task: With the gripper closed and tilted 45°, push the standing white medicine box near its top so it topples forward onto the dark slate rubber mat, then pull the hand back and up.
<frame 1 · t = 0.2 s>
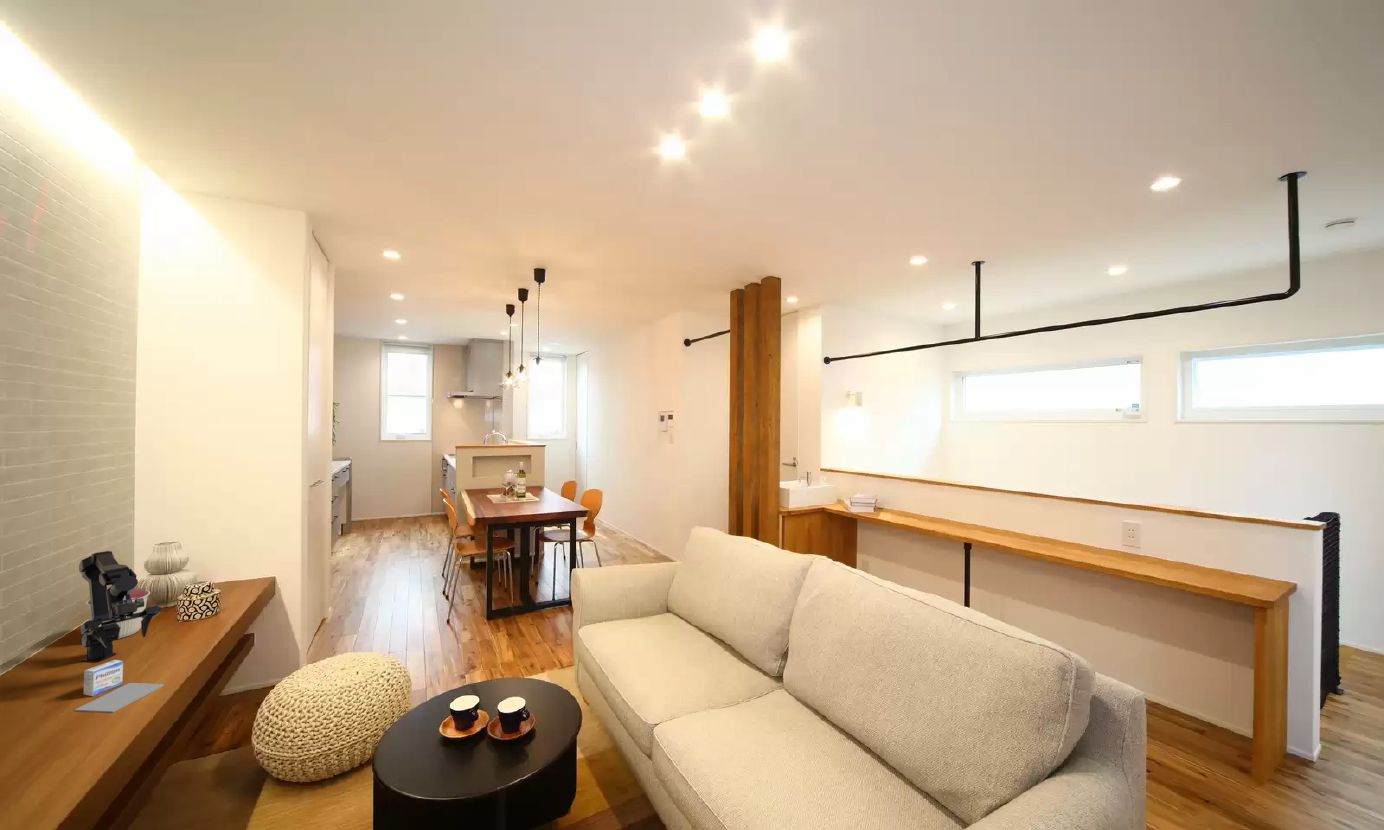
hand: (125, 641, 180), 14 cm above the table, tool tilted 35°, fingers open, 9 cm apart
medicine box: (103, 690, 175), on the table
canister: (117, 635, 213), on the table
slate mat: (121, 697, 171), on the table
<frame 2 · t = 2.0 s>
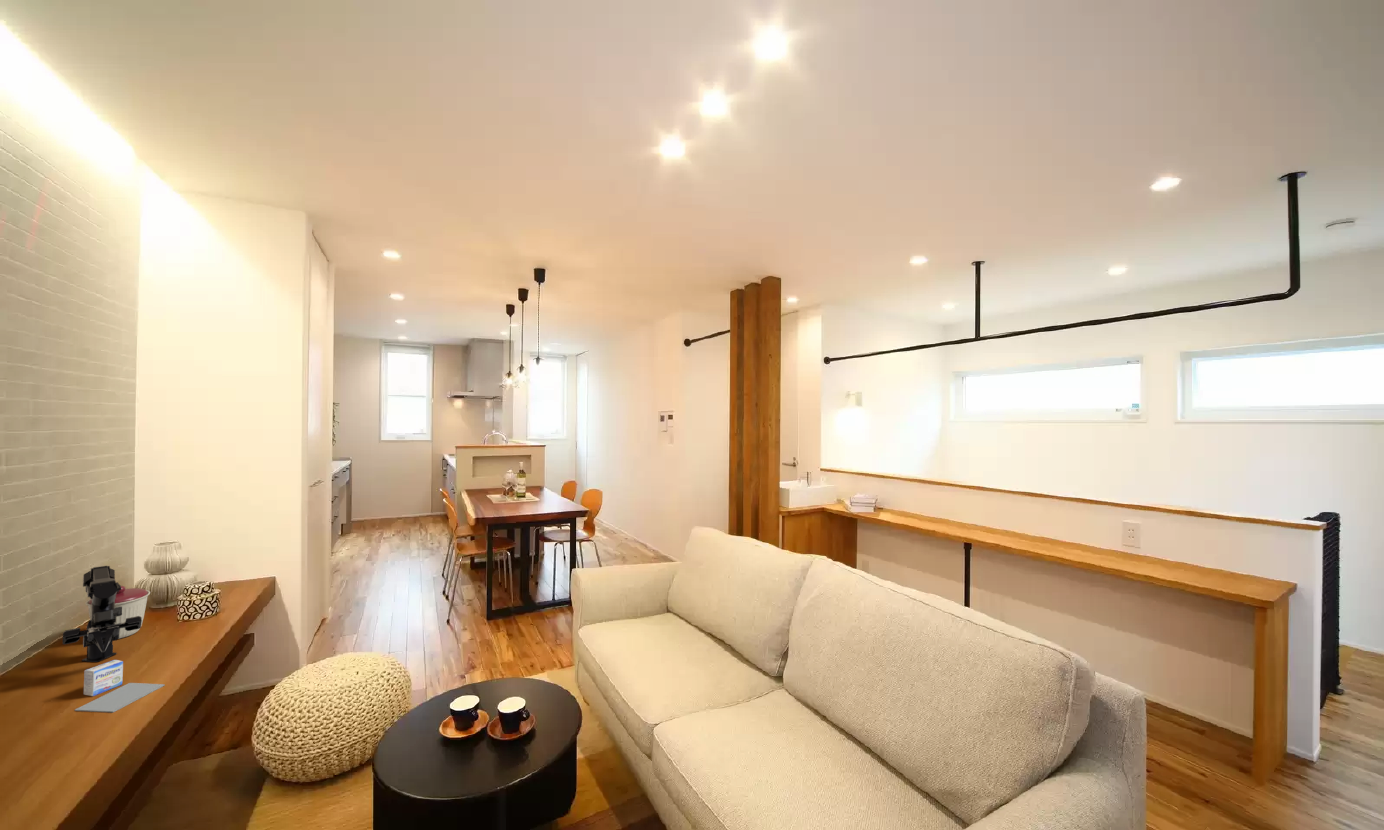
hand: (103, 651, 180), 11 cm above the table, tool tilted 45°, fingers closed
nothing on the table moved.
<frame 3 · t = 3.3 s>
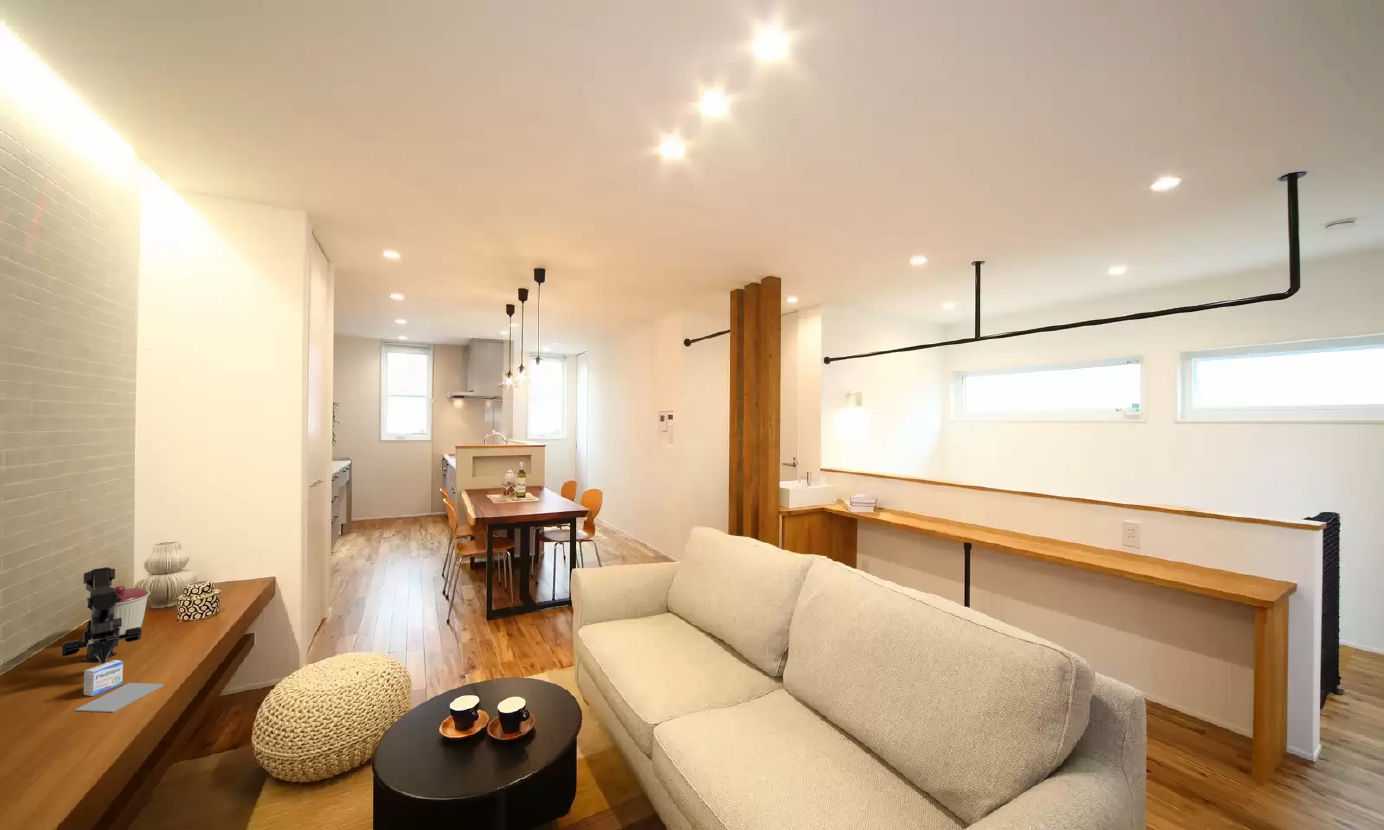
hand: (103, 662, 179), 7 cm above the table, tool tilted 45°, fingers closed
nothing on the table moved.
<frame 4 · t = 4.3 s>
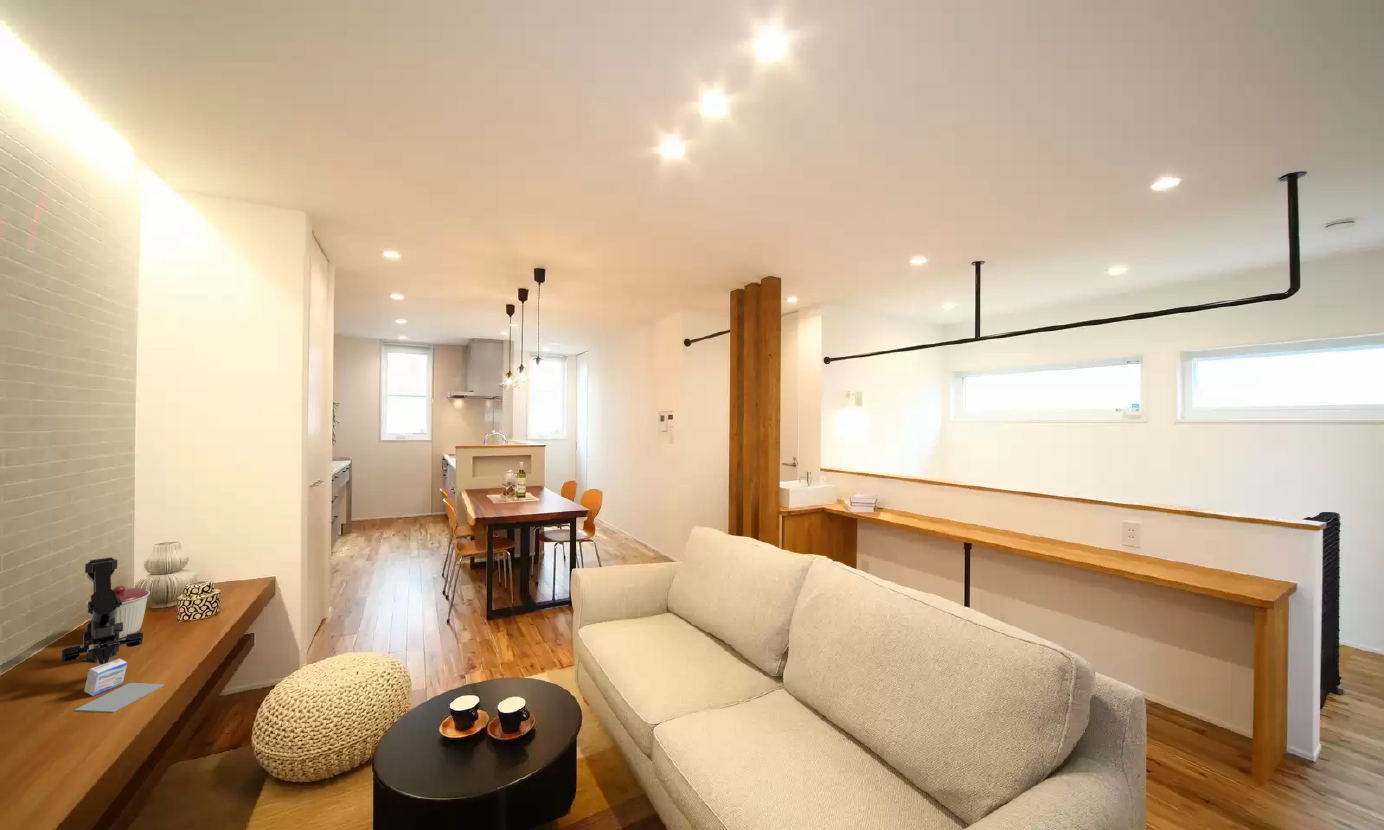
hand: (103, 668, 175), 7 cm above the table, tool tilted 45°, fingers closed
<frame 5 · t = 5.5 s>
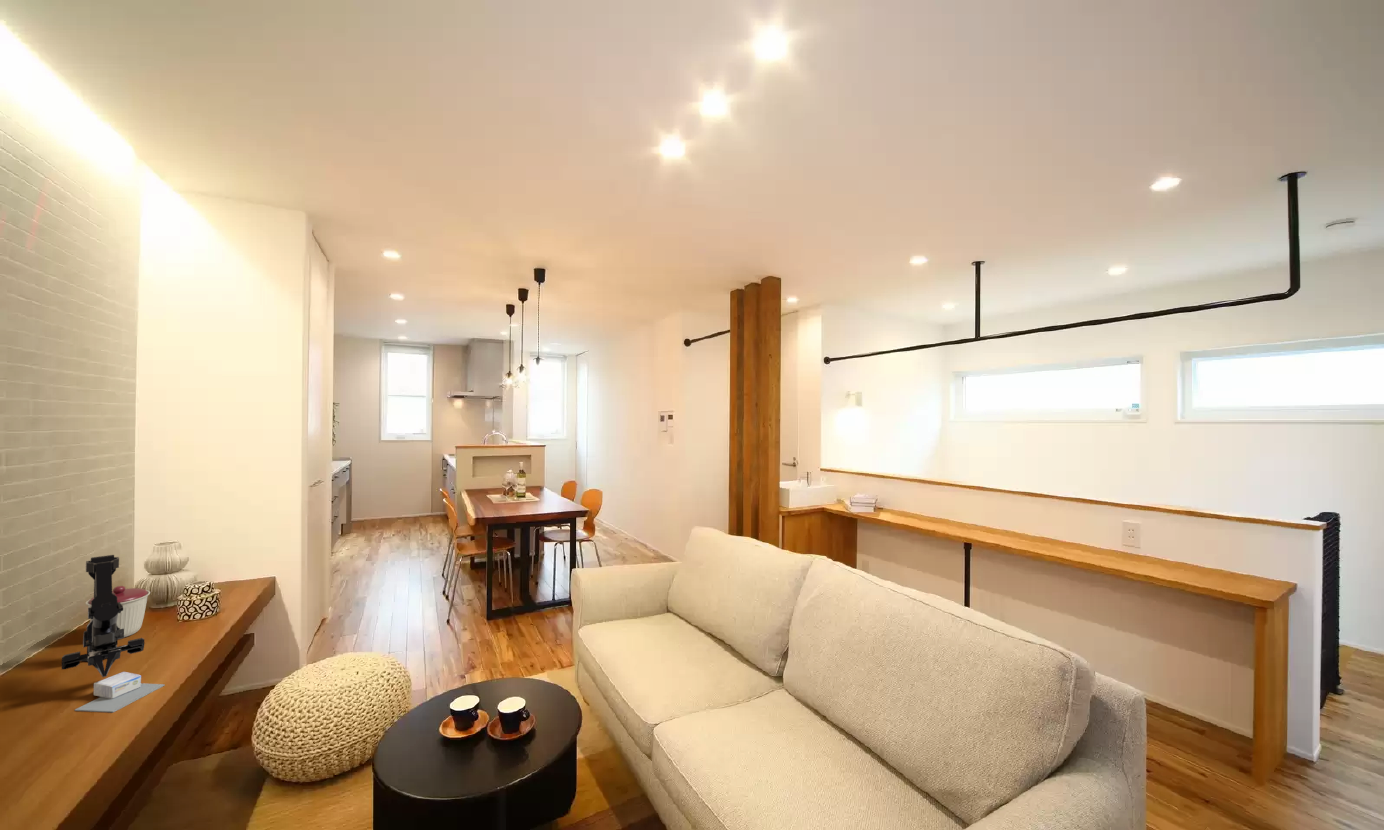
hand: (104, 676, 171), 7 cm above the table, tool tilted 45°, fingers closed
medicine box: (108, 682, 175), point 3 cm above the table, touching slate mat
everything else where it was.
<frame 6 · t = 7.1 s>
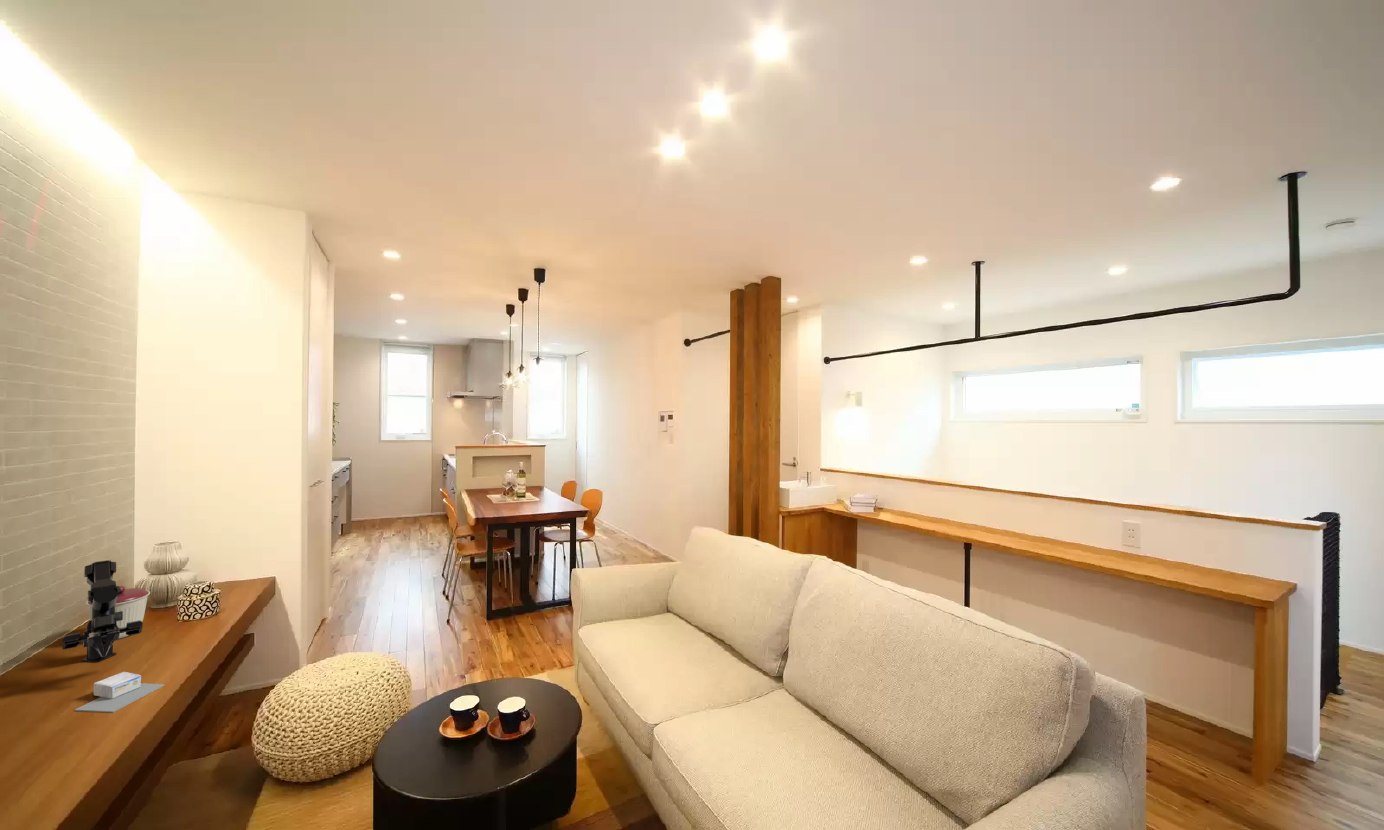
hand: (103, 656, 177), 10 cm above the table, tool tilted 45°, fingers closed
nothing on the table moved.
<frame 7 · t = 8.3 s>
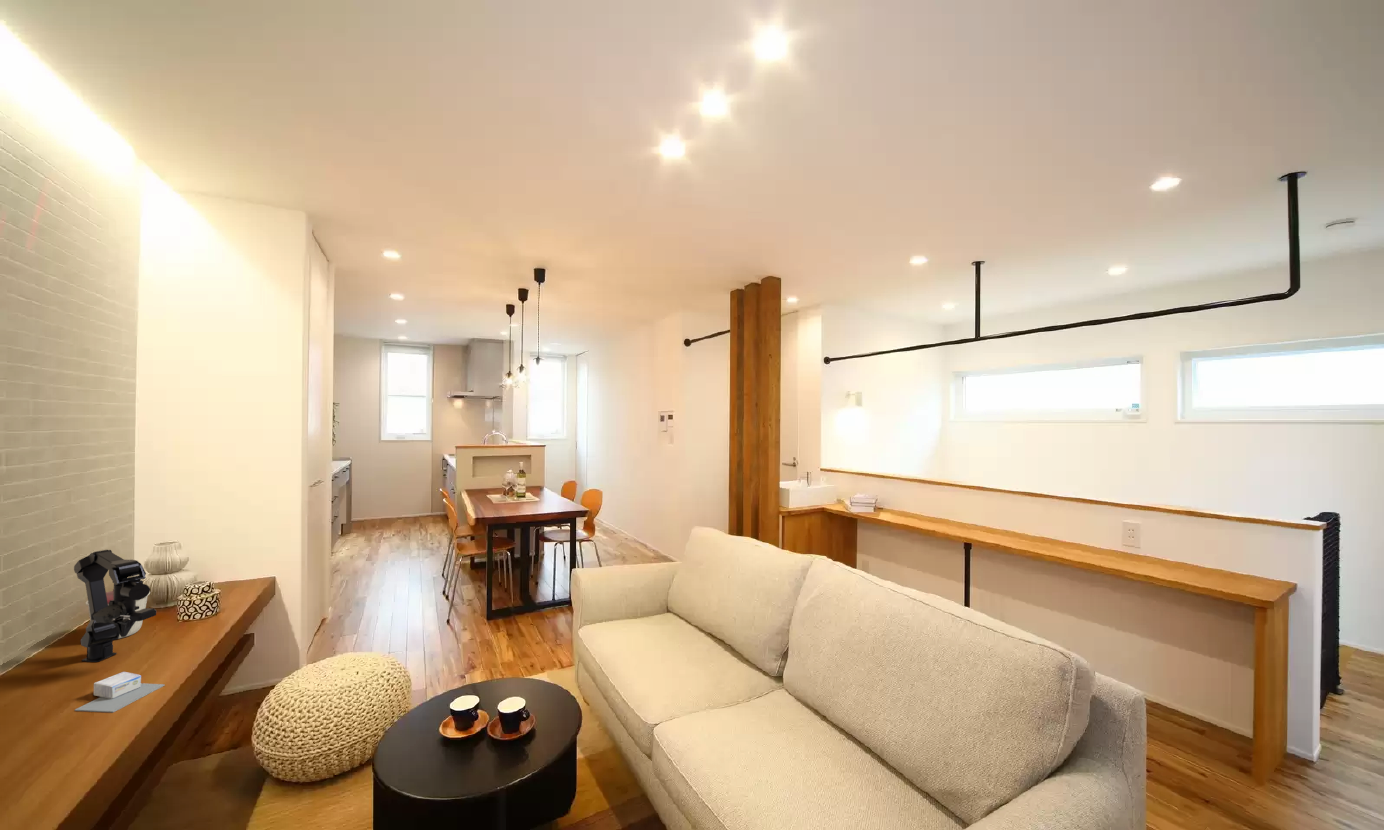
hand: (123, 636, 188), 12 cm above the table, tool pointing down, fingers closed
nothing on the table moved.
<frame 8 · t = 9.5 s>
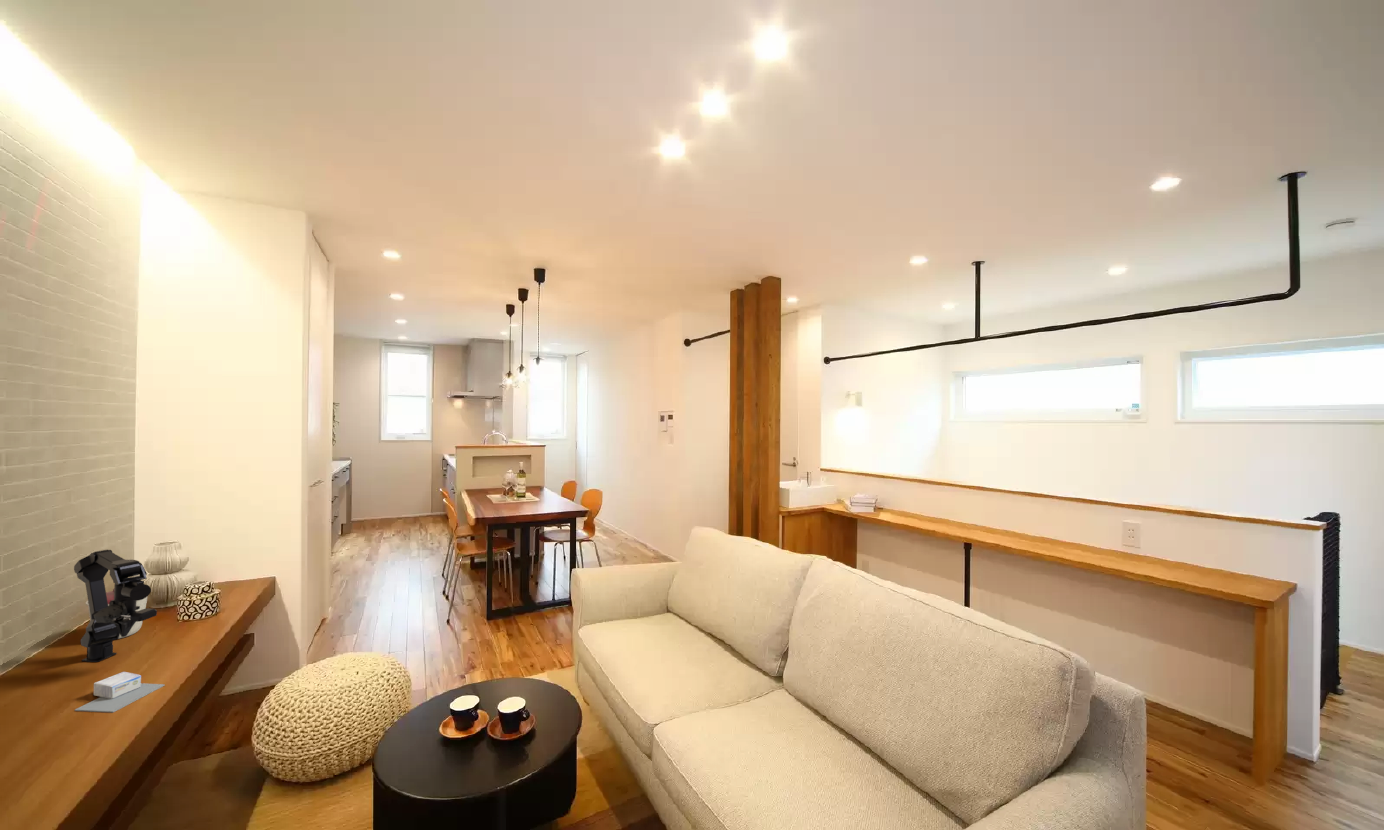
hand: (124, 636, 189), 12 cm above the table, tool pointing down, fingers closed
nothing on the table moved.
at the end: medicine box tilted 90°; medicine box touching slate mat; the gripper is holding nothing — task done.
